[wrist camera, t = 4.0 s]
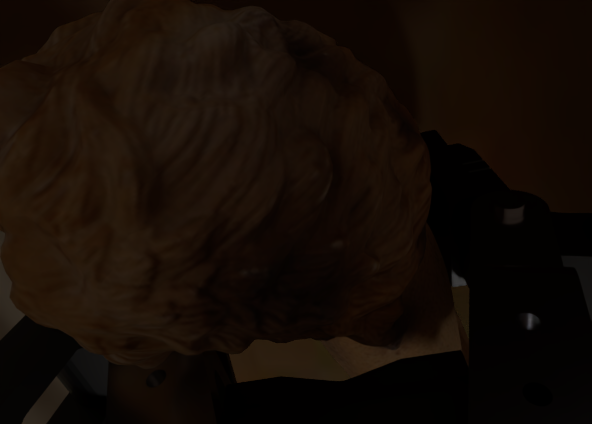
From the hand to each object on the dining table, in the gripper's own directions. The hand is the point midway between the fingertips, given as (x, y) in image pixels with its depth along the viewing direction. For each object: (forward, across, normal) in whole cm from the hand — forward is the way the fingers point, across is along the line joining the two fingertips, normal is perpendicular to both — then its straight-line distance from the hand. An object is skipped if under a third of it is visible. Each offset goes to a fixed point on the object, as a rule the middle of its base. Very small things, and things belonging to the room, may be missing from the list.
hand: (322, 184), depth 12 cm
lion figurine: (+1, 0, +1) cm, 1 cm away
